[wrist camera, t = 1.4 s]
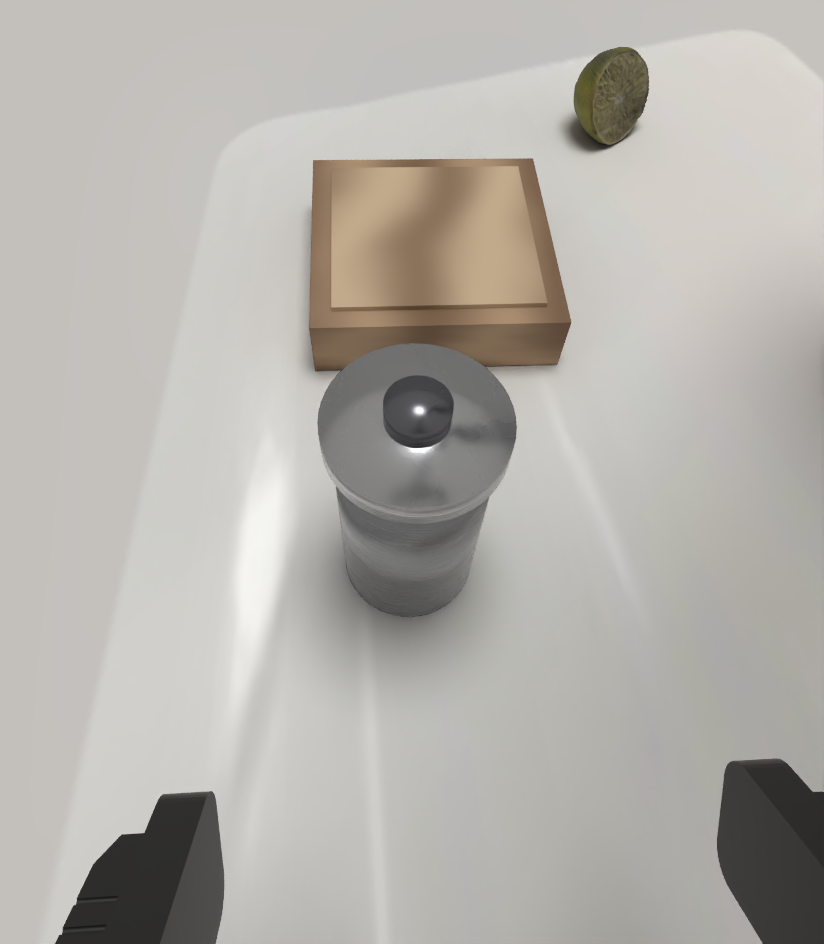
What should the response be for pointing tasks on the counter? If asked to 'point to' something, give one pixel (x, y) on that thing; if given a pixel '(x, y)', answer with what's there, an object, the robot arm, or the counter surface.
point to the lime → (611, 94)
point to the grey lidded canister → (414, 469)
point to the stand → (433, 261)
